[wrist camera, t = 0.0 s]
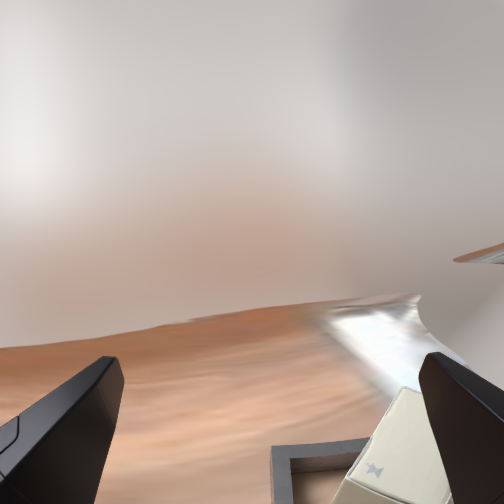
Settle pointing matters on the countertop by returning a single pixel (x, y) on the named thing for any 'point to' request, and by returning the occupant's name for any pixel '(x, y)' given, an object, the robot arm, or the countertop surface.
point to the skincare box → (398, 460)
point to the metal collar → (308, 463)
